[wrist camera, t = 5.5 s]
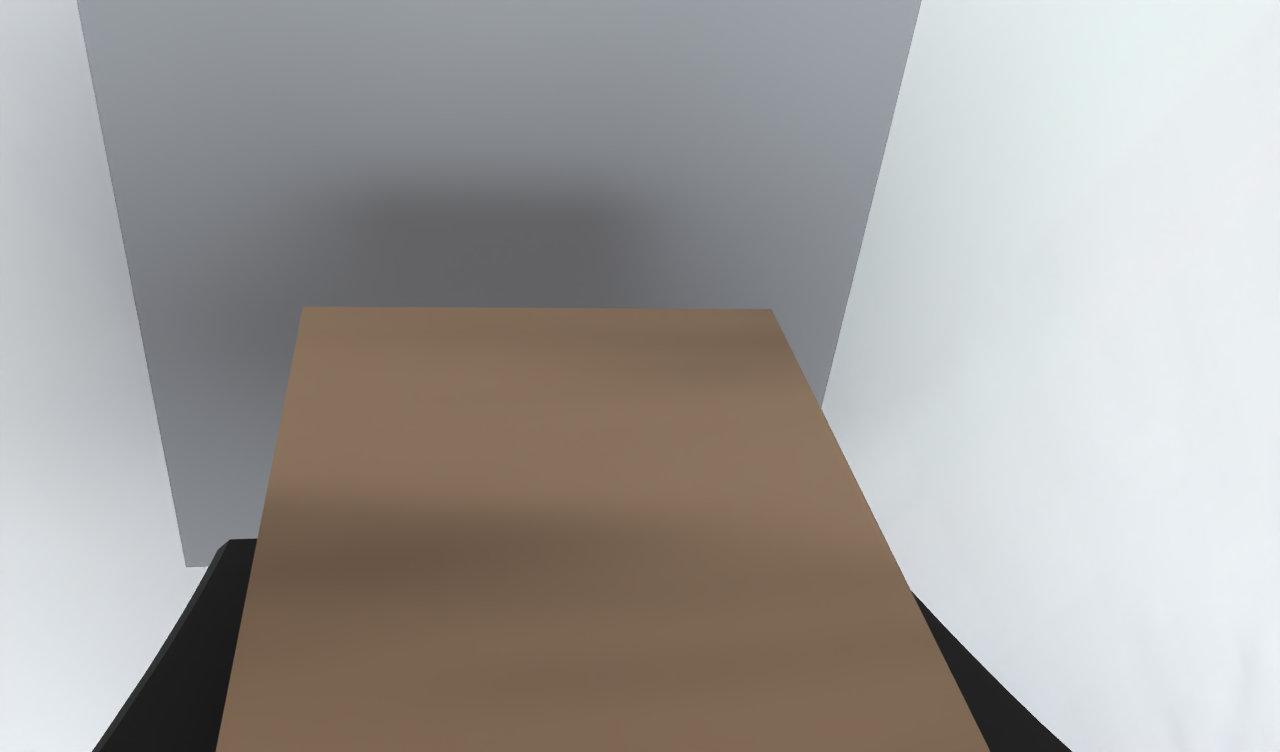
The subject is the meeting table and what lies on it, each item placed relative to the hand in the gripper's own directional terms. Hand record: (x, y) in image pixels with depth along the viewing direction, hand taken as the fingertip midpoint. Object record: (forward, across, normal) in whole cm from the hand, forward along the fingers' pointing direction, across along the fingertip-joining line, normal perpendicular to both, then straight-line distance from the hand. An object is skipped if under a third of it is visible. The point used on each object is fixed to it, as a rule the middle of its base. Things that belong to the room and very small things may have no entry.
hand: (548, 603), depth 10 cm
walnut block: (+2, 0, 0) cm, 2 cm away
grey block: (+9, 0, 0) cm, 9 cm away
